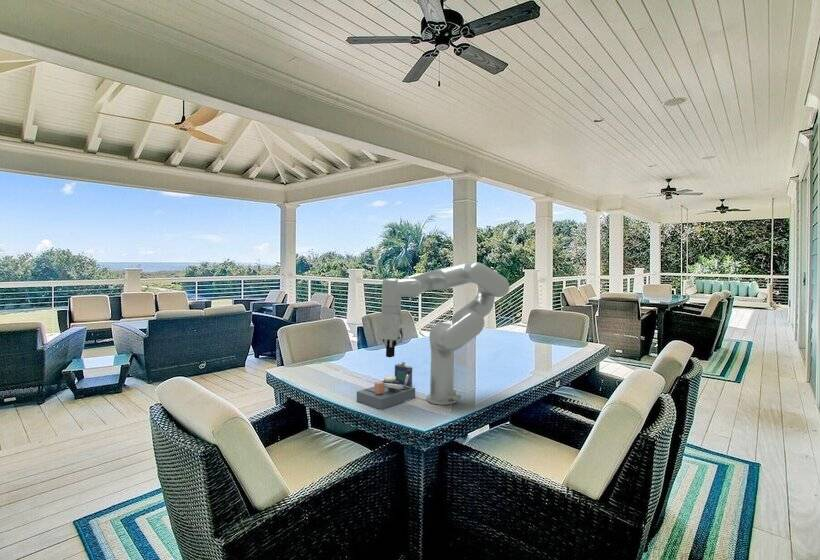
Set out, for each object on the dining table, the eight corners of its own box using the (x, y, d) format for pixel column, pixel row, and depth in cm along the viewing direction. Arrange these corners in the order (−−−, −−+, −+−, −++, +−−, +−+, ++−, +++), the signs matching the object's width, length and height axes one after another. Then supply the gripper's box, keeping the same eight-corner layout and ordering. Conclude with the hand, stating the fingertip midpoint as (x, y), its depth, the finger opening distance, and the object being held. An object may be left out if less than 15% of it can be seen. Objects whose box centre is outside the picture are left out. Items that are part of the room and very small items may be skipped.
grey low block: (415, 397, 175) (415, 384, 175) (381, 409, 160) (381, 395, 160) (390, 390, 184) (391, 377, 184) (356, 401, 169) (356, 387, 169)
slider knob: (384, 392, 166) (384, 382, 166) (378, 394, 164) (379, 383, 164) (380, 391, 168) (380, 381, 168) (374, 393, 166) (374, 382, 165)
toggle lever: (408, 387, 173) (413, 370, 175) (404, 386, 172) (410, 368, 174) (404, 386, 175) (409, 369, 177) (400, 385, 173) (406, 367, 175)
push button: (398, 384, 178) (398, 377, 178) (389, 386, 175) (389, 379, 175) (389, 381, 182) (389, 374, 182) (381, 384, 178) (381, 377, 178)
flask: (413, 385, 192) (413, 362, 191) (409, 387, 189) (410, 363, 189) (396, 382, 196) (396, 360, 196) (392, 384, 194) (392, 361, 194)
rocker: (402, 388, 171) (403, 386, 171) (389, 387, 165) (389, 384, 165) (395, 386, 174) (395, 384, 174) (382, 385, 168) (382, 382, 168)
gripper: (370, 309, 165) (369, 355, 166) (400, 312, 156) (398, 361, 157) (383, 307, 171) (382, 352, 172) (412, 310, 162) (411, 358, 163)
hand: (390, 356), depth 164 cm, fingers closed
